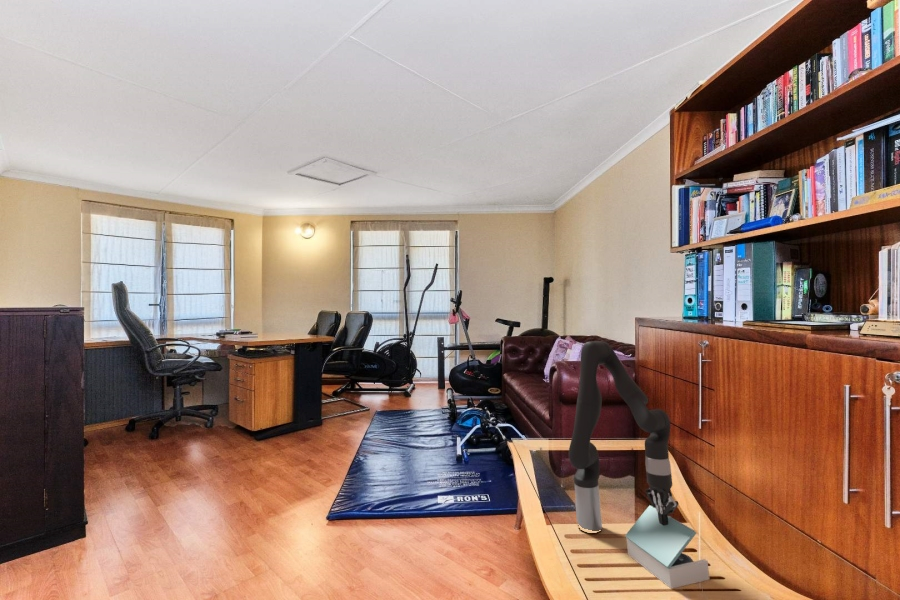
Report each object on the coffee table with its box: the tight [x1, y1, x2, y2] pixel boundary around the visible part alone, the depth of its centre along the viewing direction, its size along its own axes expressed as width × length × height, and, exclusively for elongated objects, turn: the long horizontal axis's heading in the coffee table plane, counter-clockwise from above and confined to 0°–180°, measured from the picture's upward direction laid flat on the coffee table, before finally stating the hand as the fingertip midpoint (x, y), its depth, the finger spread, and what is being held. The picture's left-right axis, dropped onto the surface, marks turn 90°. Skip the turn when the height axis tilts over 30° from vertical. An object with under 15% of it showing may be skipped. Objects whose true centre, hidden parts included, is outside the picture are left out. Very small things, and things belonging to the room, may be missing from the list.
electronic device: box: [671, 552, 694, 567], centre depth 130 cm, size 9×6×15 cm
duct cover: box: [624, 504, 697, 569], centre depth 130 cm, size 20×14×1 cm
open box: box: [626, 538, 710, 589], centre depth 130 cm, size 20×14×6 cm
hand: (663, 524), depth 131 cm, fingers closed
